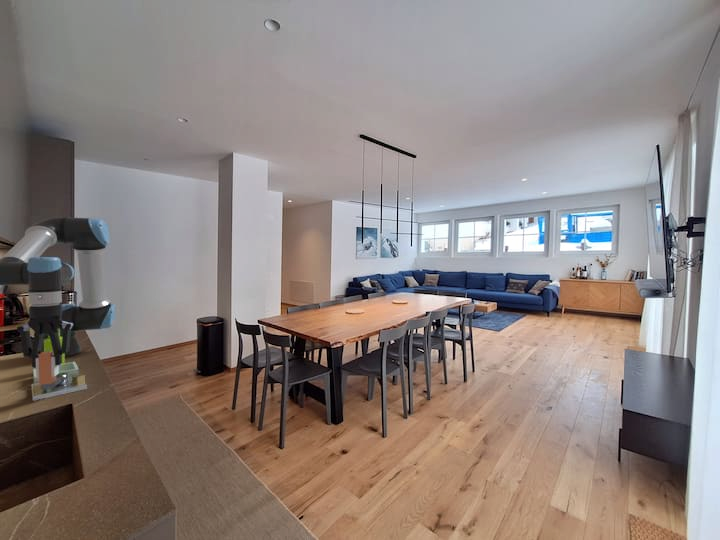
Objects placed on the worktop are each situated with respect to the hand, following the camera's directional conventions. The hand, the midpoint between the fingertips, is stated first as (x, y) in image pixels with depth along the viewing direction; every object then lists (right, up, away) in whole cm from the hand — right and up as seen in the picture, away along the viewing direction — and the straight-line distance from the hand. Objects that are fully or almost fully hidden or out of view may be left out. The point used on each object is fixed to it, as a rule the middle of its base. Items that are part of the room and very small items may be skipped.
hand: (47, 375), depth 101 cm
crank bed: (-3, -7, +7) cm, 10 cm away
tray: (-13, -6, +16) cm, 21 cm away
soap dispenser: (-21, -6, +23) cm, 32 cm away
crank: (-2, -5, +4) cm, 7 cm away
